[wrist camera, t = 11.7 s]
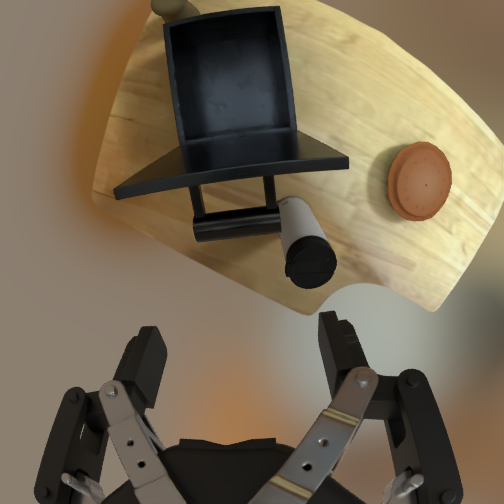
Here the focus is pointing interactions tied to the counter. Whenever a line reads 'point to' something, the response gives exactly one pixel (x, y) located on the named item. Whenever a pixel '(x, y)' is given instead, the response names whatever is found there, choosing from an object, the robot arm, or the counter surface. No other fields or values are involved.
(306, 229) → the travel mug
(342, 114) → the counter surface
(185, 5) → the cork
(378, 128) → the counter surface
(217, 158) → the lid
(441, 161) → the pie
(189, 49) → the black open box
